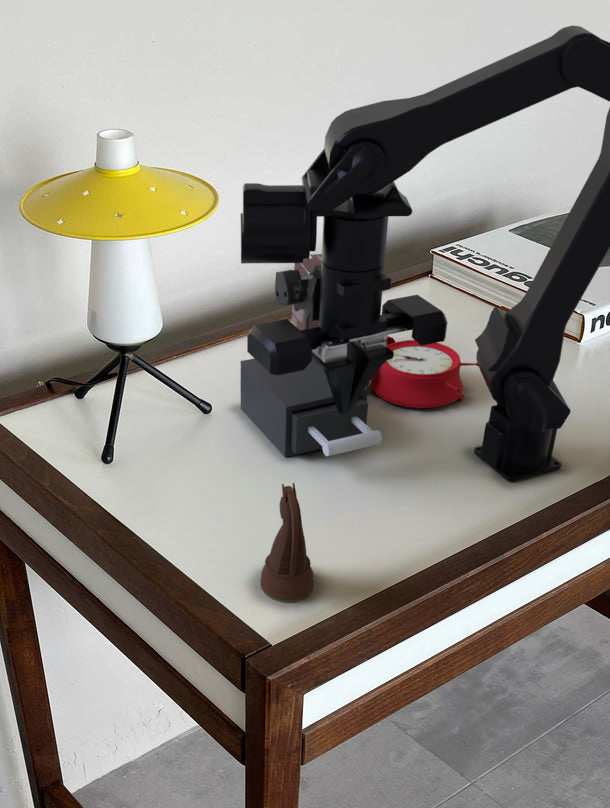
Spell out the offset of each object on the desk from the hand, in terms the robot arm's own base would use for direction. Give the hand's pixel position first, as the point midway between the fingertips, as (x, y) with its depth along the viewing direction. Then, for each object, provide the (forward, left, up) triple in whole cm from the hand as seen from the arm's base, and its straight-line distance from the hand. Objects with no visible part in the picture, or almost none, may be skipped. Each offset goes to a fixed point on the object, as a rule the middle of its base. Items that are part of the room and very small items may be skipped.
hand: (343, 412), depth 100 cm
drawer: (0, -5, -5) cm, 7 cm away
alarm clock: (-15, -12, -6) cm, 20 cm away
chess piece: (+14, +16, -6) cm, 22 cm away
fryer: (0, -9, -6) cm, 11 cm away
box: (-9, -23, -6) cm, 25 cm away
